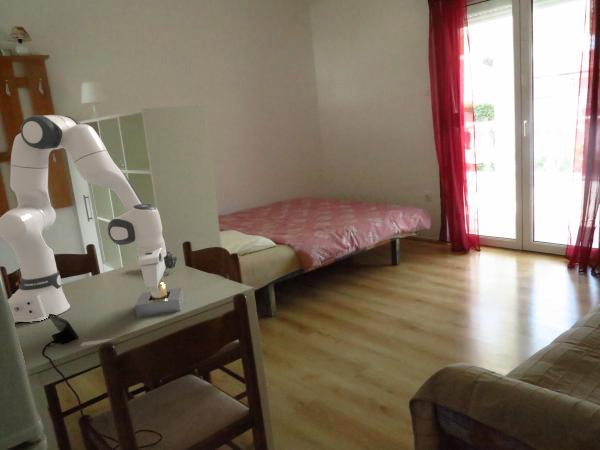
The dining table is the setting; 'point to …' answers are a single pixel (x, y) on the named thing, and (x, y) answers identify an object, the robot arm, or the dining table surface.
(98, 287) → the dining table surface
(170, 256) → the toy gun
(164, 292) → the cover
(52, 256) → the robot arm
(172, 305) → the housing
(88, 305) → the dining table surface
